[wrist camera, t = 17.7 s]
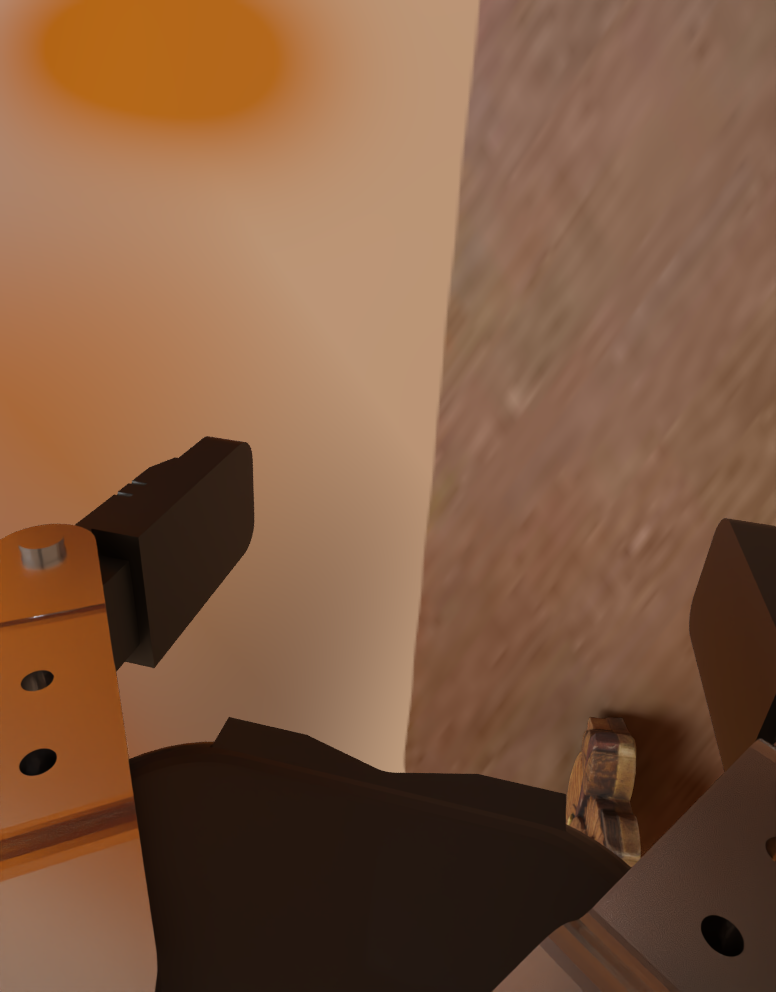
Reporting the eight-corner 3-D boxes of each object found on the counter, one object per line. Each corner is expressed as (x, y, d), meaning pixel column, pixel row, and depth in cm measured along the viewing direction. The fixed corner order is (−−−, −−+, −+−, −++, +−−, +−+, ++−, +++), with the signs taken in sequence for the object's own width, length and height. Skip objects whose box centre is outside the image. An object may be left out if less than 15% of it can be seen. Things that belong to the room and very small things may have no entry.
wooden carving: (563, 685, 48) (563, 804, 39) (633, 691, 47) (648, 815, 38) (557, 845, 55) (556, 976, 46) (617, 854, 54) (628, 990, 45)
